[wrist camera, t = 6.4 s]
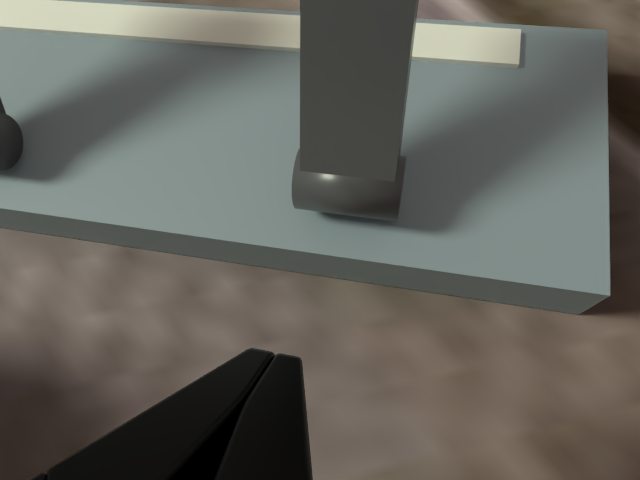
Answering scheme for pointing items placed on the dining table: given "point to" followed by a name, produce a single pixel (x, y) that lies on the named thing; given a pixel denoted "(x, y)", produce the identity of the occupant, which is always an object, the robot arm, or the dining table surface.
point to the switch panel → (284, 142)
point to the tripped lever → (353, 106)
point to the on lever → (9, 140)
